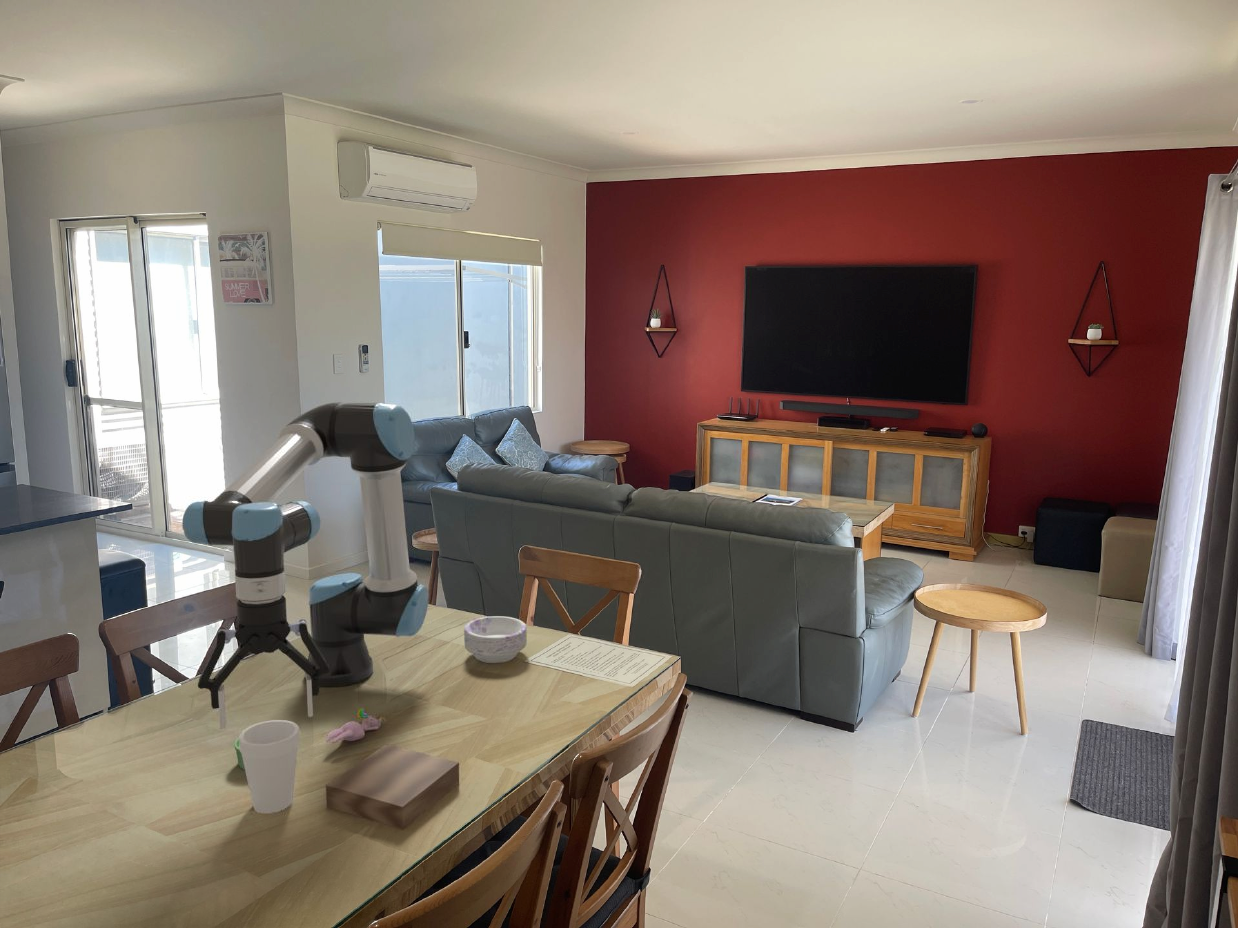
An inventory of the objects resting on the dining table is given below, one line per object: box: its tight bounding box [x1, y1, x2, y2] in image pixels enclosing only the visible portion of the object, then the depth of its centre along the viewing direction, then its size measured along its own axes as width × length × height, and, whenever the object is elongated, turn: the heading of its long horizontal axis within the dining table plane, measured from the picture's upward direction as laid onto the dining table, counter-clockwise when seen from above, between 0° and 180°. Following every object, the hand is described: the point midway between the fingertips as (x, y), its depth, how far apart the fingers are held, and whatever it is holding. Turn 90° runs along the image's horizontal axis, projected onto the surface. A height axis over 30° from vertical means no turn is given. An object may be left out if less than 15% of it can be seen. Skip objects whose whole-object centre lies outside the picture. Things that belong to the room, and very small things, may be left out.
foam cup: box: [238, 719, 300, 814], centre depth 150 cm, size 10×9×13 cm
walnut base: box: [325, 744, 460, 830], centre depth 154 cm, size 16×16×4 cm
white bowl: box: [463, 615, 528, 664], centre depth 216 cm, size 15×15×8 cm
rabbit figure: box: [326, 707, 386, 744], centre depth 174 cm, size 6×6×15 cm
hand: (267, 719), depth 148 cm, fingers open, 13 cm apart
